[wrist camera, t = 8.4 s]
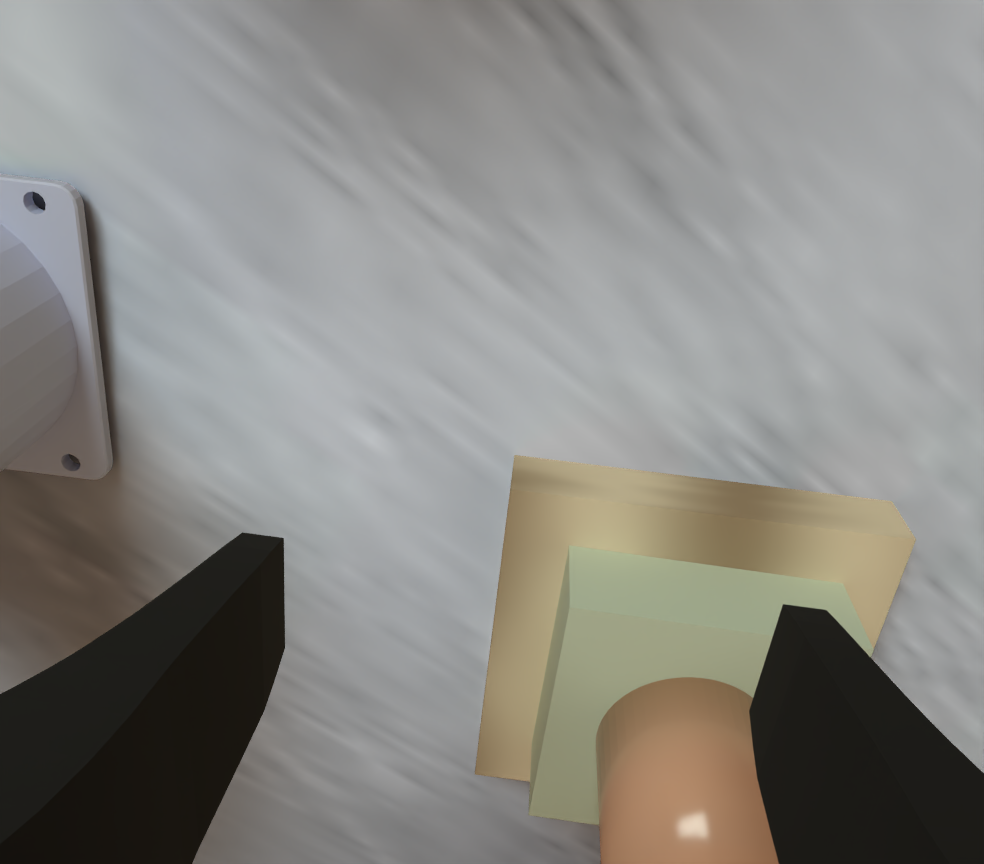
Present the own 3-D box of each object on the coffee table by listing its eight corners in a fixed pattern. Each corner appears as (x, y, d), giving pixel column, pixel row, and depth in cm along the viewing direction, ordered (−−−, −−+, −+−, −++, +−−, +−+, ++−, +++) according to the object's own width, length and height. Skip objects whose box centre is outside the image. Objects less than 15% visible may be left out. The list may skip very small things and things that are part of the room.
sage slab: (531, 742, 26) (528, 815, 23) (569, 545, 22) (569, 607, 20) (771, 776, 26) (790, 852, 23) (843, 583, 22) (874, 650, 20)
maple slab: (481, 712, 29) (474, 774, 26) (515, 442, 24) (510, 489, 22) (789, 752, 28) (808, 818, 26) (883, 487, 24) (915, 539, 22)
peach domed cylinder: (584, 795, 23) (590, 968, 19) (608, 667, 21) (620, 831, 17) (753, 814, 23) (795, 993, 19) (794, 688, 21) (849, 857, 17)
